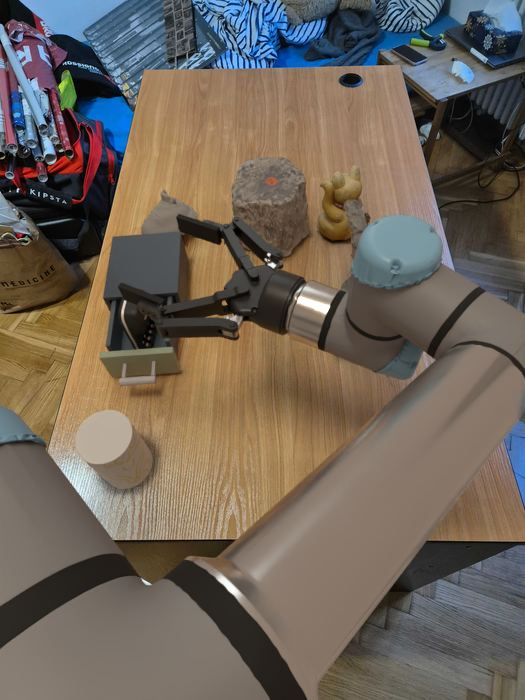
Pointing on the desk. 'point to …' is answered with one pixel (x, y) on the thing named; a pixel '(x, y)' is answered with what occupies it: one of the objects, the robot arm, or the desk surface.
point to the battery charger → (136, 325)
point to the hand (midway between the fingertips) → (152, 255)
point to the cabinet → (148, 265)
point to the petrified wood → (272, 201)
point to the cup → (114, 449)
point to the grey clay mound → (166, 215)
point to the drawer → (138, 353)
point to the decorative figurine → (339, 203)
